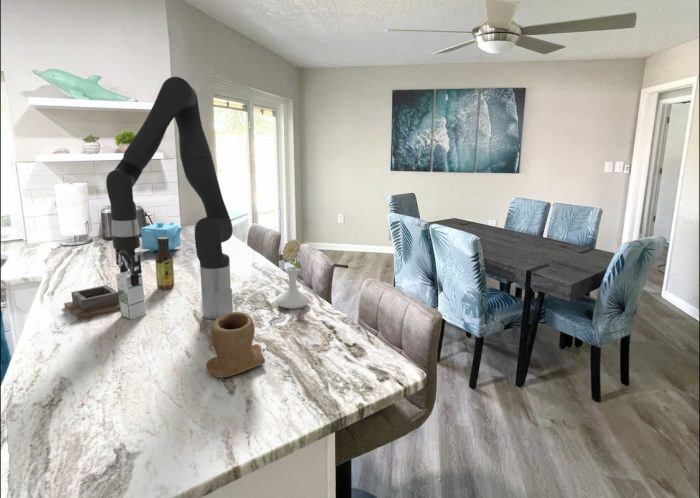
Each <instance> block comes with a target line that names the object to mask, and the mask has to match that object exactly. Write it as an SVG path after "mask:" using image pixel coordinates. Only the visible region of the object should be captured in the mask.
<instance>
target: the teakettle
mask: <svg viewBox="0 0 700 498" xmlns="http://www.w3.org/2000/svg"><path fill="white" fill-rule="evenodd" d="M184 229H186V227H183V226H180V225H175V221H171V222H169V224H165V223H164V222H161V221H158V222H156V223H153V224H150V225H147V226H143V227H141V228H139V233H140V237H141V248H142V250H148V253H155V252H156V251H158V242H157V238H159V237H168V238H169V242H168V243H169V250H170V251H175V250H176V248H178V247H180V246H181V245H182V244H181V242H182V241H181V232H182V230H184Z"/></svg>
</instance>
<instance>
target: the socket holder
mask: <svg viewBox="0 0 700 498" xmlns="http://www.w3.org/2000/svg"><path fill="white" fill-rule="evenodd" d="M71 300H72V301H69V302H64V308H65V307H66V308H67V309H68V310H69V311H70V312H69V311H68V310H67V309H66V308H65V309H66V310H67V311H68V312H69V313H71V314H72V313H73V314H74V315H75V316H76V317H77V318H76V317H75V316H74V315H73V314H72V315H73V316H74V317H75V318H76V319H78V320H79V321H82V320H81V319H83V320H86V319H85V318H87V319H91V318H94V317H97V316H98V317H99V316H103V315H106V314H111V313H115V312H119V311H120V304H119V296H118V290H115V289H114V288H112V287H111V286H109V285H107V284H104V285H100V286H95V287H90V288H86V289H81V290H75V291H71ZM90 317H91V318H90Z"/></svg>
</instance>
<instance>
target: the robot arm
mask: <svg viewBox="0 0 700 498" xmlns="http://www.w3.org/2000/svg"><path fill="white" fill-rule="evenodd" d="M200 114H201V113H200V108H199V99H198V95H197V92H196V90H195V88H194V87H193V85H191V83H189V81H187V80H186V79H185V78H183V77H181V76H171V77H168V78H167V79H165V81H163V83H162V85H161V86H160V89H159V92H158V93H157V96H156V98H155V101H154V102H153V105H152V107H151V109H150V111H149V114H148V115H147V117H146V118H145V120H144V122H143V124H142V126H141V127H140V128H139V130H138V131H137V133H136V135H134V137H133V139H132V140H131V142H130V143H129V145H128V146H127V148H126V149H125V151H124V152H123V156H122V159H121V160H120V162H118V164H117V166H116V167H115V168H114V169H113V170H111V171H110V172H109V173H108V174H107V175H106V178H105V181H106V183H105V184H106V190H107V191H106V192H107V197H108V199H109V200H108V201H109V202H110V216H111V236H112V245H113V246H112V247H113V249H114V250H115V263H116V265H117V266H118V268H119V273H122V272H126V271H129V272H130V277H131V285H132V286H137V285H139V275H138V274H139V273H141V274H142V272H143V271H142V261H141V255H140V254H137V253H136V251H135V250H136V249H138V248H140V246H141V242H140V240H141V239H140V228H139V227H140V226H139V223H138V215H137V206H136V202H135V201H134V193H133V192H134V191H133V187H134V186H135V185H136V183H137V182H138V180H139V178H140V176H141V174H142V173H143V170H144V169H145V168H146V167H147V166H148V165H149V163H150V161H151V160H152V159H153V157H155V154H156V153H157V151H158V149H159V147H160V145H161V143H162V141H163V139H164V135H165V133H166V132H167V129H168V127H169V126H170V124H171V122H172V121H173V120H175V123H176V125H177V131H178V139H179V141H178V142H179V143H178V144H179V155H180V161H181V166H182V169H183V172H184V176H185V178H186V180H187V181H188V183H189V185H190V186H191V188H192V189H193V190H194V192H195V193H196V195H198V197H199V199H200V200H201V202H202V205H203V207H204V211H205V215H206V217H203V218H201V219H198V221H197V222H196V224H195V226H194V242H195V243H194V244H195V252H196V257H197V258H198V262H199V268H200V270H199V271H200V287H201V290H200V291H201V303H202V304H201V307H202V316H203V318H205V319H207V320H208V319H209V320H214V321H215V320H216V319H217V318H219V317H221V316H224V315H225V314H227V313H231V312H234V308H233V307H234V305H233V289H232V288H231V264H230V263H231V262H230V256H229V255H228V254H226V253H223V247H222V243H225V242H227V241H229V240H230V239H231V238H232V236H233V231H234V230H233V228H234V227H233V223H232V220H231V217H230V214H229V212H228V209H227V206H226V203H225V202H224V198H223V194H222V191H221V188H220V184H219V180H218V176H217V172H216V167H215V163H214V159H213V157H212V152H211V150H210V145H209V143H208V140H207V137H206V135H205V134H206V133H205V131H204V129H203V124H202V121H201V115H200Z"/></svg>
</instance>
